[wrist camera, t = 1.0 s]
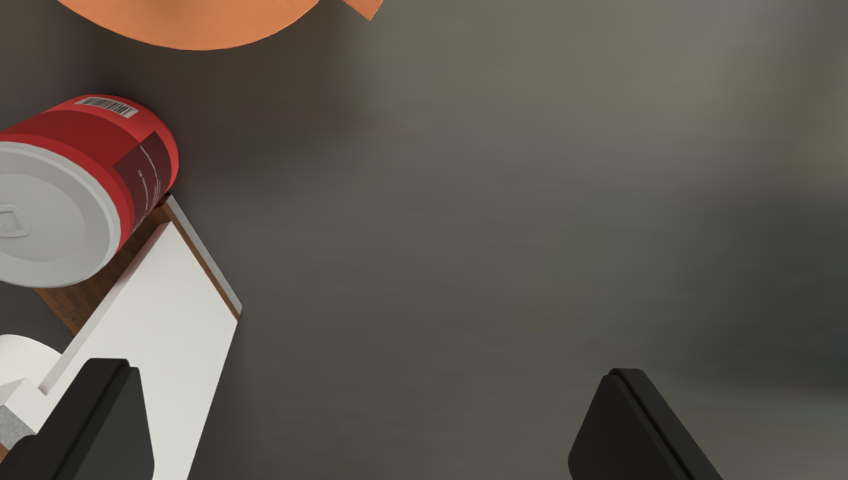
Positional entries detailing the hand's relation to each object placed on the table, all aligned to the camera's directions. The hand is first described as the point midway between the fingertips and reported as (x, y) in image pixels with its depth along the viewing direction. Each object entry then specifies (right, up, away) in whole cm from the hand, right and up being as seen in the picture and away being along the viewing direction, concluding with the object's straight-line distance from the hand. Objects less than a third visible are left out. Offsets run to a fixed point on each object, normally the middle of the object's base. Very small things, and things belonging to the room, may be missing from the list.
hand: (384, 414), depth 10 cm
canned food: (-20, +10, +23) cm, 31 cm away
